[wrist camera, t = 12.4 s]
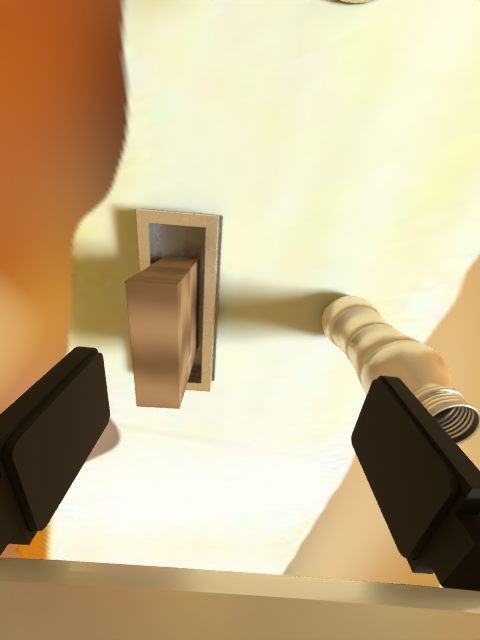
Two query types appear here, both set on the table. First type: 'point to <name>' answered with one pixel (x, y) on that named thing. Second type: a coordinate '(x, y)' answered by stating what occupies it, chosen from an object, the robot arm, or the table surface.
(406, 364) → the plastic bottle
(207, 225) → the tan rectangular tray
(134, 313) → the door panel
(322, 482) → the table surface
